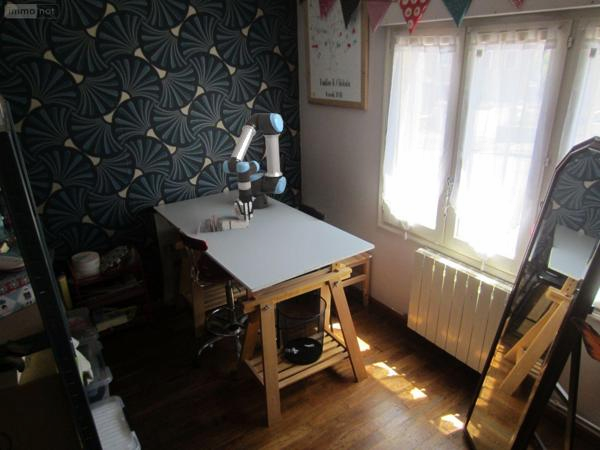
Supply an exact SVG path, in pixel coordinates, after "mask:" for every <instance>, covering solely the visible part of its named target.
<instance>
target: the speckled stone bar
mask: <svg viewBox="0 0 600 450" xmlns="http://www.w3.org/2000/svg"><path fill="white" fill-rule="evenodd" d="M247 228H248V226H247V223H246V220H239V219H235V220H224V221H223V220H222V229H223V231H225V230H226V231H227V230H228V231H229V230H237V229H247Z"/></svg>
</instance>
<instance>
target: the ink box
mask: <svg viewBox="0 0 600 450" xmlns="http://www.w3.org/2000/svg"><path fill="white" fill-rule="evenodd" d="M239 204H240V206H241V209H242V212H244V211H243V203H242V202H241V201H240V200H239ZM233 206H234V207H233V209H234V218H235V220H244V215H241V213H240V210H239V208H238V205H237V203H236V202H234V204H233ZM249 207H250V212H251V208H252V203H251V202H249ZM245 210H246V214H248V208H247V203H245ZM253 216H254V215H253V214H251V215H250V219H251V218H253Z"/></svg>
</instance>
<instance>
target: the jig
mask: <svg viewBox="0 0 600 450" xmlns="http://www.w3.org/2000/svg"><path fill="white" fill-rule="evenodd" d="M215 220H216V221H215ZM211 221H212V222H211ZM222 222H223V218H222V217H217V218H216V219H215V215H214V214H213V215H212V219H211V218H205V221H204V228H205V233H211V232H212V230H213V233H215V232H216V230H217V232H223V231H224V230H223V229H222Z"/></svg>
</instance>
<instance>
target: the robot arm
mask: <svg viewBox="0 0 600 450" xmlns="http://www.w3.org/2000/svg"><path fill="white" fill-rule="evenodd" d="M283 128H284V121H283V118H282V116H281V115H280V114H278V113H272V112H270V113H269V112H268V113H267V112H265V113H261V112H258V113H254V114H252V115H251V116H250V117H249V118H248V119H246V121H245V122H244V123H243V126H242V128H241V130H242V131H241V132H240V133H241V134H240V136H239V138H238V140H237V142H236V145H235V146H234V149H233V151H232V154H231V156H230V157H229V160H225V161H224V162H223V163H222V171H223V172H224V173H226V174H233V175H234V174H236V177H237V187H238V189H237V190H238V197H237V199H235V200H234V203H237V205H238V208H239V210H240V213H241V215H244V220H246V223H247V227H248V226H250V220H251V218H250V215H251V214H252V215H253V214H254V210H259V209H266V208H268V207H269V206H270V202H269V199H268V196H267V194H275V195H276V194H279V195H280V194H282V193H284V191H285V188H286V185H287V179H286V177H285V176H283V172H281V167H280V166H281V165H280V147H279V146H280V143H279V136H280V135H281V132H282V131H283V130H284V129H283ZM258 132H262V136H263V137H264V139H265V150H266V151H265V153H266V156H265V157H266V166H267V168H266V169H267V172H266V173H264V172H259V171H260V164H259V163H258V162H257V161H256V160H251V161H243V160H244V158H245V155H246V153H247V152H248V148H249V147H250V144H251V142H252V140H253V137H254V136H256V135H257V133H258ZM239 201H241V202H242V203H243V211H244V212H242V209H241V206H240V204H239ZM249 202H251V203H252V208H251V212H250V207H249ZM245 203H247V208H248V214H246V210H245Z"/></svg>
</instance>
